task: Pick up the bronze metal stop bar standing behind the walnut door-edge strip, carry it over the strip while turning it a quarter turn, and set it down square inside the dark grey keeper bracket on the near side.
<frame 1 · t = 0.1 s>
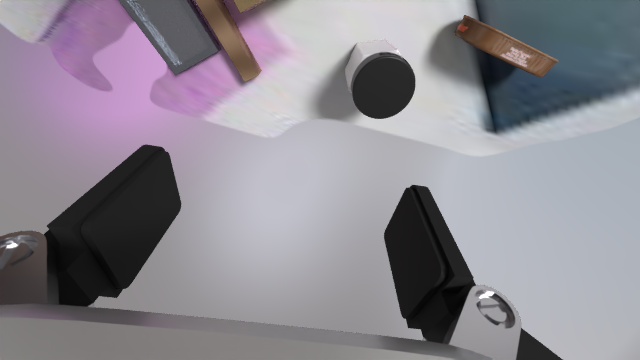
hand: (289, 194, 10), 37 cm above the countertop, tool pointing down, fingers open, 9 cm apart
keeper: (166, 12, 38), on the countertop
tin: (488, 41, 39), on the countertop
door edge strip: (218, 9, 37), on the countertop
jar: (371, 66, 42), on the countertop
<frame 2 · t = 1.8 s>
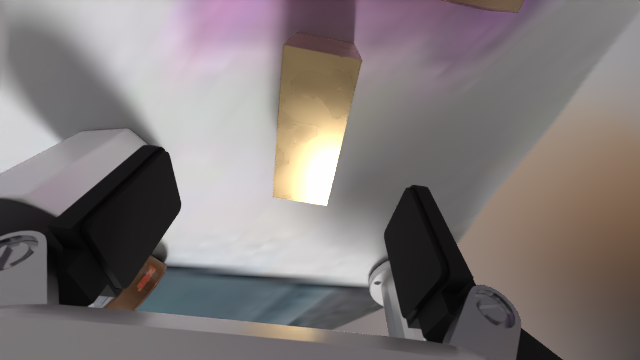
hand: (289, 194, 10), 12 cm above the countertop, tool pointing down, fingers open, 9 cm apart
tin: (137, 266, 35), on the countertop
stop bar: (314, 107, 20), on the countertop
jar: (130, 164, 24), on the countertop
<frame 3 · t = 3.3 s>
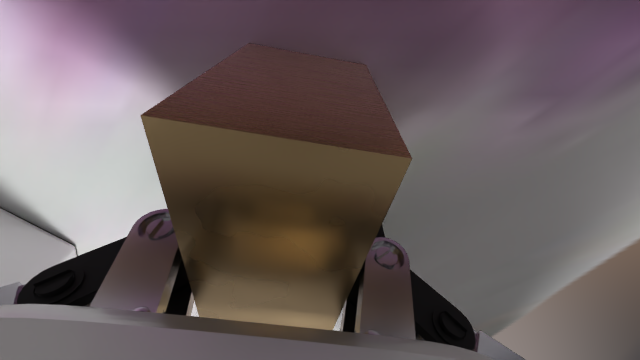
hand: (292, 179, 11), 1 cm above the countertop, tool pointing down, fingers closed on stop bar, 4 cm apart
stop bar: (293, 172, 11), on the countertop, touching gripper
jar: (14, 244, 16), on the countertop
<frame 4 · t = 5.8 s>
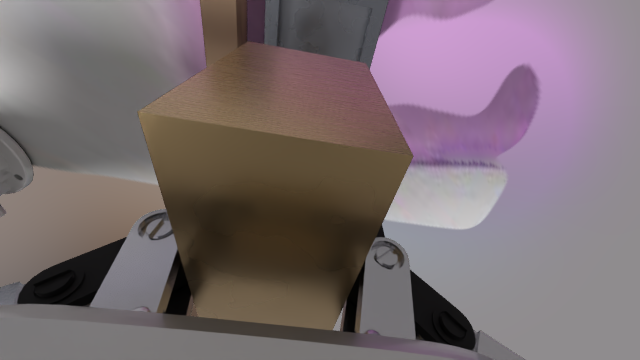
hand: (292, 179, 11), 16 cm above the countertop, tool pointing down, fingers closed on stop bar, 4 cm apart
keeper: (314, 82, 23), on the countertop
door edge strip: (232, 30, 21), on the countertop
stop bar: (293, 171, 11), point 15 cm above the countertop, touching gripper
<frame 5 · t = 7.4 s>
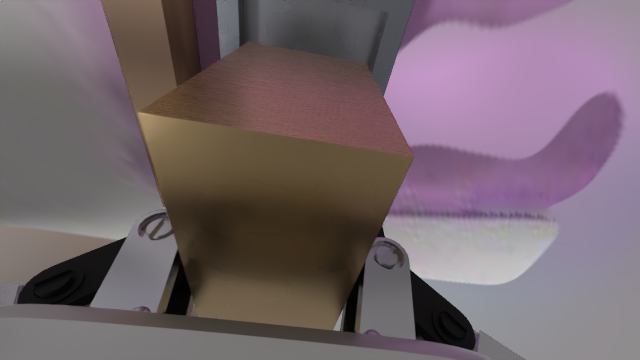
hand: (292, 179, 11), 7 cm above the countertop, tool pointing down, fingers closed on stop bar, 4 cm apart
keeper: (301, 116, 16), on the countertop
door edge strip: (175, 45, 14), on the countertop
stop bar: (293, 171, 11), point 6 cm above the countertop, touching gripper
when the fingers open (2 cm above the countertop, at t = 8.6 s): stop bar drops 1 cm, resting on keeper.
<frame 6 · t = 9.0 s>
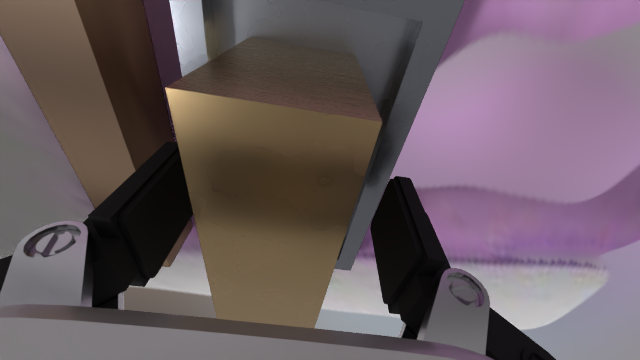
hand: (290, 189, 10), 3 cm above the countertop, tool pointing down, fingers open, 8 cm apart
keeper: (297, 152, 13), on the countertop
door edge strip: (126, 64, 10), on the countertop
stop bar: (292, 157, 12), resting on keeper
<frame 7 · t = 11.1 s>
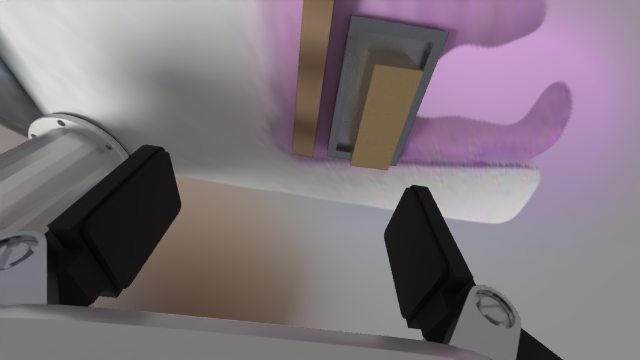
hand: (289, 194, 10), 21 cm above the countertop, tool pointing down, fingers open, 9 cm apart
keeper: (376, 99, 28), on the countertop
door edge strip: (313, 60, 26), on the countertop
stop bar: (374, 100, 28), resting on keeper
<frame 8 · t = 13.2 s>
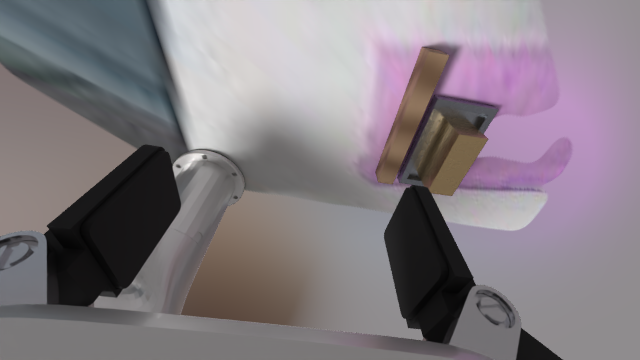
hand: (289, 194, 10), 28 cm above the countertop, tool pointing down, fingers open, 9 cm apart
keeper: (440, 145, 40), on the countertop
door edge strip: (402, 120, 38), on the countertop
stop bar: (440, 146, 40), resting on keeper
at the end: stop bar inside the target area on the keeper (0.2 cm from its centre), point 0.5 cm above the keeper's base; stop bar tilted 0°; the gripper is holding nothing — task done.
